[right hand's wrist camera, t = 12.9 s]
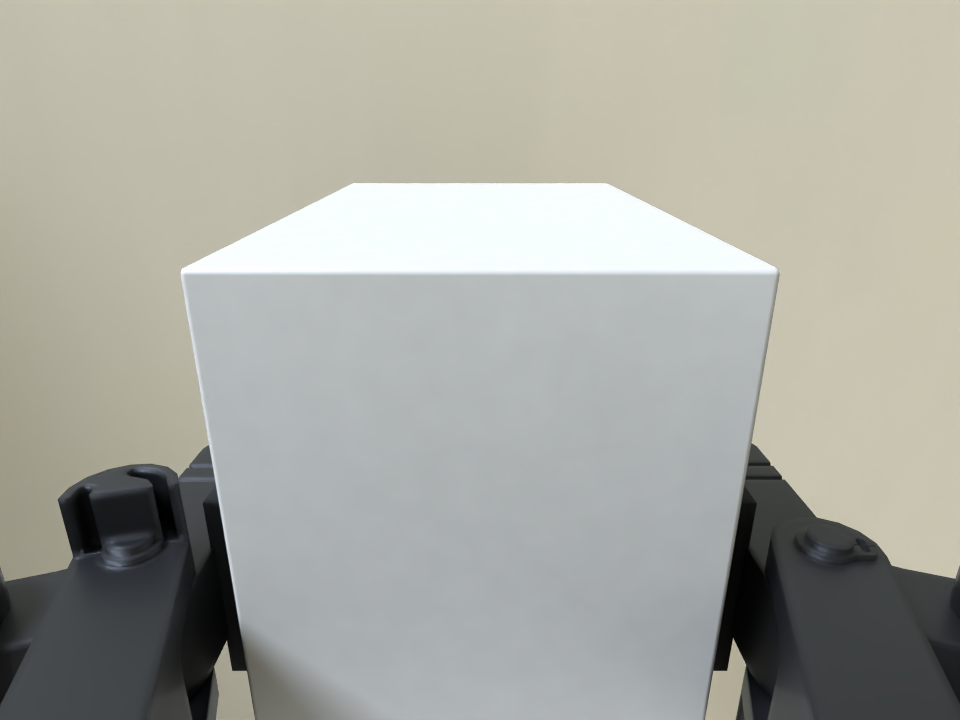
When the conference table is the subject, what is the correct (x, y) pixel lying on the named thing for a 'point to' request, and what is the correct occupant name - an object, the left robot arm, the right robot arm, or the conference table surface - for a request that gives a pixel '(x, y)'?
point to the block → (480, 450)
